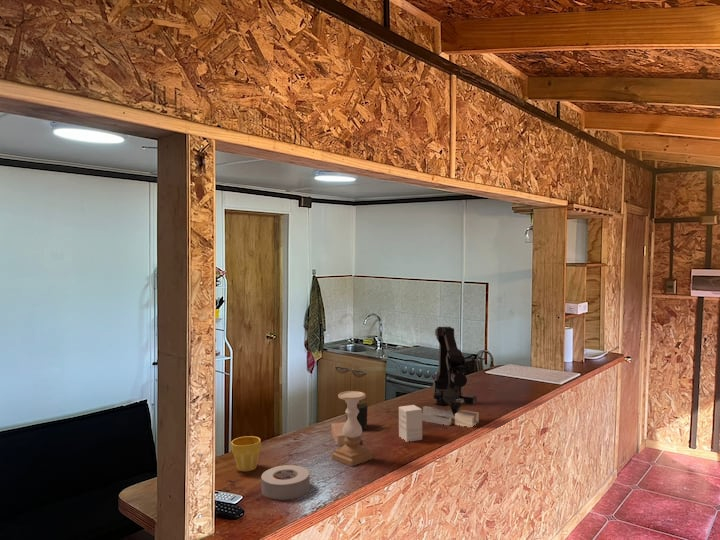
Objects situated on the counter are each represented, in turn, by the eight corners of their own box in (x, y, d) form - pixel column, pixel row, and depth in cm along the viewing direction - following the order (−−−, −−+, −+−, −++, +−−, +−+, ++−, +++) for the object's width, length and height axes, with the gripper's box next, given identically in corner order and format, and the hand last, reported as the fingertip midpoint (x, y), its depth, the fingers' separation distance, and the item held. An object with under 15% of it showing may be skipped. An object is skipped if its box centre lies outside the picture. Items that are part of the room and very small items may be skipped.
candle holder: (373, 458, 202) (373, 394, 201) (351, 466, 194) (351, 399, 194) (352, 451, 210) (352, 389, 209) (331, 458, 202) (330, 394, 201)
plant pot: (225, 468, 194) (225, 440, 193) (250, 460, 201) (250, 433, 201) (241, 476, 186) (241, 447, 186) (267, 468, 194) (266, 440, 193)
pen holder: (353, 432, 231) (353, 409, 231) (341, 427, 239) (341, 404, 239) (371, 428, 236) (371, 405, 236) (359, 423, 244) (359, 400, 244)
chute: (424, 412, 260) (424, 406, 260) (460, 418, 251) (460, 411, 251) (412, 419, 250) (412, 412, 250) (449, 425, 240) (449, 418, 240)
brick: (357, 445, 217) (357, 433, 217) (336, 446, 215) (336, 435, 215) (350, 432, 233) (350, 421, 233) (330, 433, 231) (330, 422, 231)
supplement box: (414, 434, 229) (414, 404, 228) (422, 440, 222) (422, 409, 221) (398, 436, 226) (398, 406, 226) (406, 442, 219) (406, 411, 219)
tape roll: (275, 504, 166) (275, 488, 165) (253, 487, 178) (253, 472, 178) (318, 491, 175) (318, 475, 174) (295, 476, 187) (294, 461, 187)
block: (461, 420, 248) (461, 409, 248) (478, 423, 244) (478, 412, 244) (454, 425, 241) (454, 413, 241) (472, 428, 237) (472, 416, 237)
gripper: (428, 382, 243) (428, 417, 244) (468, 388, 233) (468, 424, 234) (438, 377, 253) (438, 411, 253) (477, 382, 243) (477, 417, 243)
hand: (455, 416), depth 245 cm, fingers closed
